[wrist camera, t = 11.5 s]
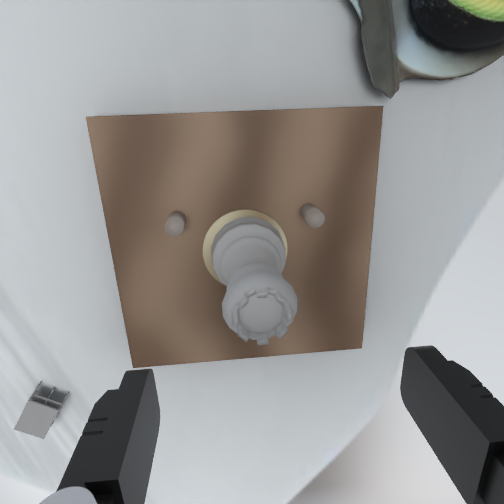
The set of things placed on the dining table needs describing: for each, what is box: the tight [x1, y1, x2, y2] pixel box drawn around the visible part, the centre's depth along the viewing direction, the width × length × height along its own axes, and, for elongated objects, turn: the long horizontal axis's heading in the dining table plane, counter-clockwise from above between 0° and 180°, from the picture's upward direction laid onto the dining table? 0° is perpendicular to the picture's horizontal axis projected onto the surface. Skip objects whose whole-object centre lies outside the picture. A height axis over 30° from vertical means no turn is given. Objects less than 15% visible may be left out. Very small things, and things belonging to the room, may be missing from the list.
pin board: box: [86, 106, 383, 368], centre depth 22 cm, size 16×16×3 cm
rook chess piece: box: [211, 217, 297, 345], centre depth 18 cm, size 4×4×8 cm
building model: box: [14, 381, 69, 439], centre depth 26 cm, size 2×3×2 cm
